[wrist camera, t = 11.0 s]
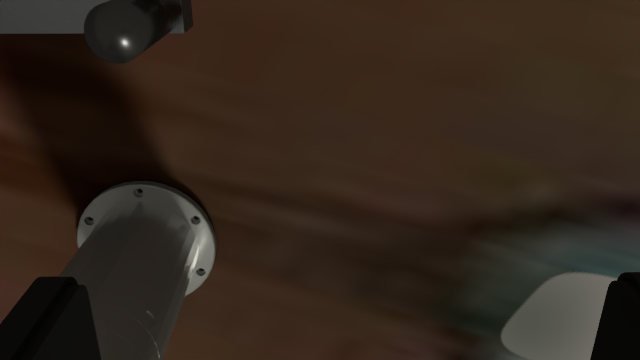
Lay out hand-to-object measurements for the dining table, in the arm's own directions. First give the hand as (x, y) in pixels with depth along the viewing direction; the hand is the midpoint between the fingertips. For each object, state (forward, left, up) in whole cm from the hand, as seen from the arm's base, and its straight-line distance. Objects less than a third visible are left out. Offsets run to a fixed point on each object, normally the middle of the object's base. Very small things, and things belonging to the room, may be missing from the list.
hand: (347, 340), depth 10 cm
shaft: (+2, +20, -33) cm, 38 cm away
